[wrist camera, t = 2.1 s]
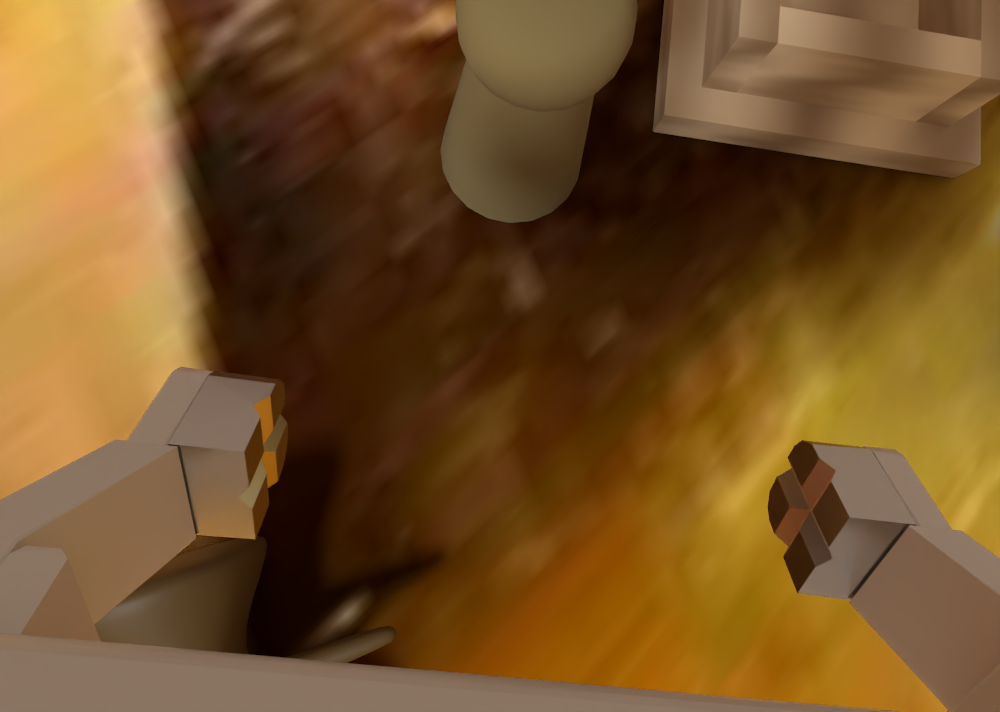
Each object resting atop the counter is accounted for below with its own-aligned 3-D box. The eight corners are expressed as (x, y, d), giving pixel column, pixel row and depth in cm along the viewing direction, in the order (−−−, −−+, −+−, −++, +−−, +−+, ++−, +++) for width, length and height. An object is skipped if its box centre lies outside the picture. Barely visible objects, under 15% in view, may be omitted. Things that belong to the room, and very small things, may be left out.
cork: (557, 74, 29) (628, -146, 18) (599, 203, 29) (697, 54, 18) (423, 105, 28) (414, -106, 18) (462, 238, 28) (478, 104, 17)
